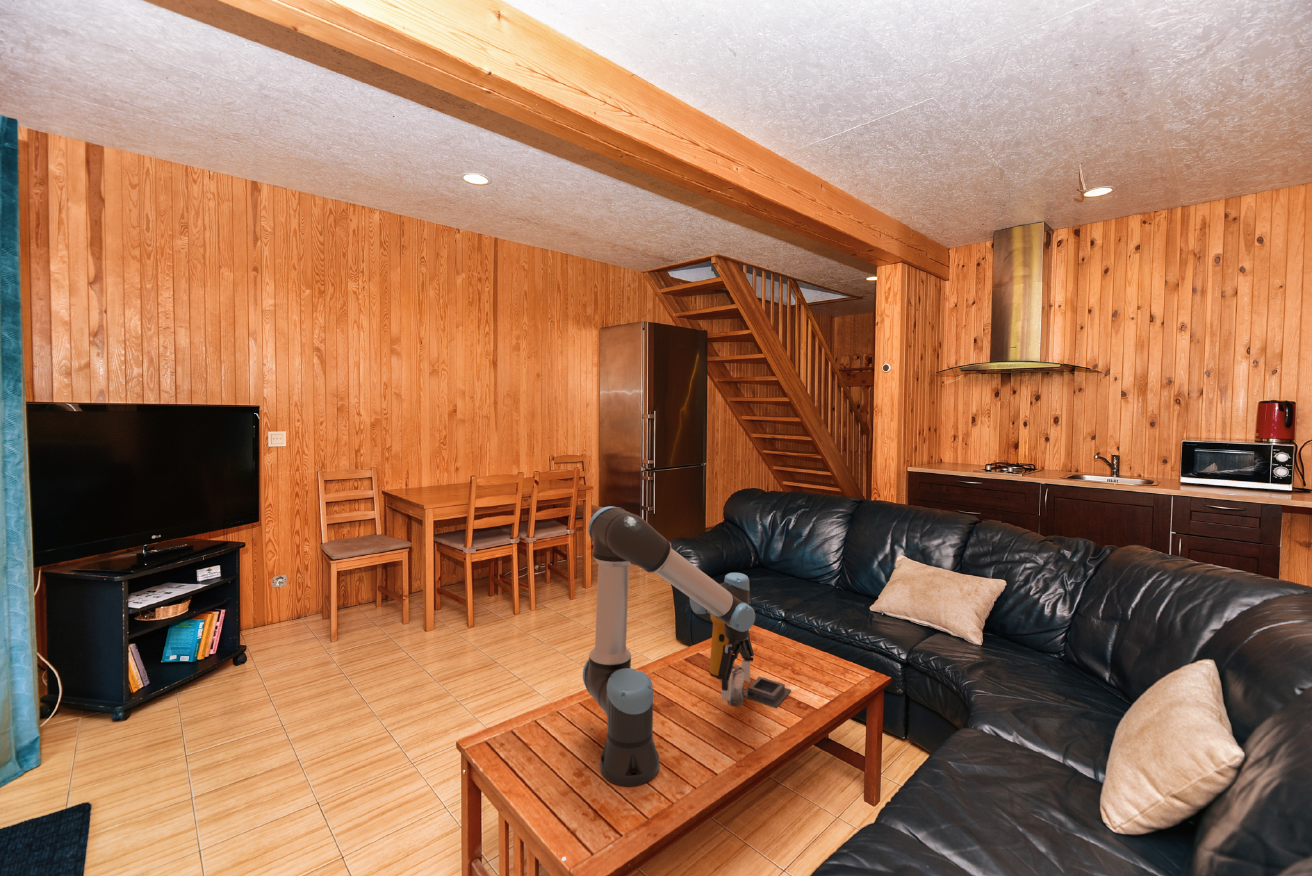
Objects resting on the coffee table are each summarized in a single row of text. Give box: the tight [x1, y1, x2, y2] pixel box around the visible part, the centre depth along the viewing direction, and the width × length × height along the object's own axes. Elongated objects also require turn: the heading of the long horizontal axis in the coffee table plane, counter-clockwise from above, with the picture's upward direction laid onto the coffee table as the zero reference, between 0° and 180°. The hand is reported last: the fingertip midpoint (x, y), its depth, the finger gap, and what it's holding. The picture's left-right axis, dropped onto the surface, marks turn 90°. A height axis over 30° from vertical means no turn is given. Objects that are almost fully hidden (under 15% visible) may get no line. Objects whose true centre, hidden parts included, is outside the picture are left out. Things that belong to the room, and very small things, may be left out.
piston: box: [726, 665, 745, 707], centre depth 176 cm, size 5×5×11 cm
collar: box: [744, 676, 792, 709], centre depth 181 cm, size 12×12×3 cm
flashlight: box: [708, 614, 729, 677], centre depth 194 cm, size 10×26×10 cm
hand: (736, 689), depth 176 cm, fingers open, 13 cm apart
